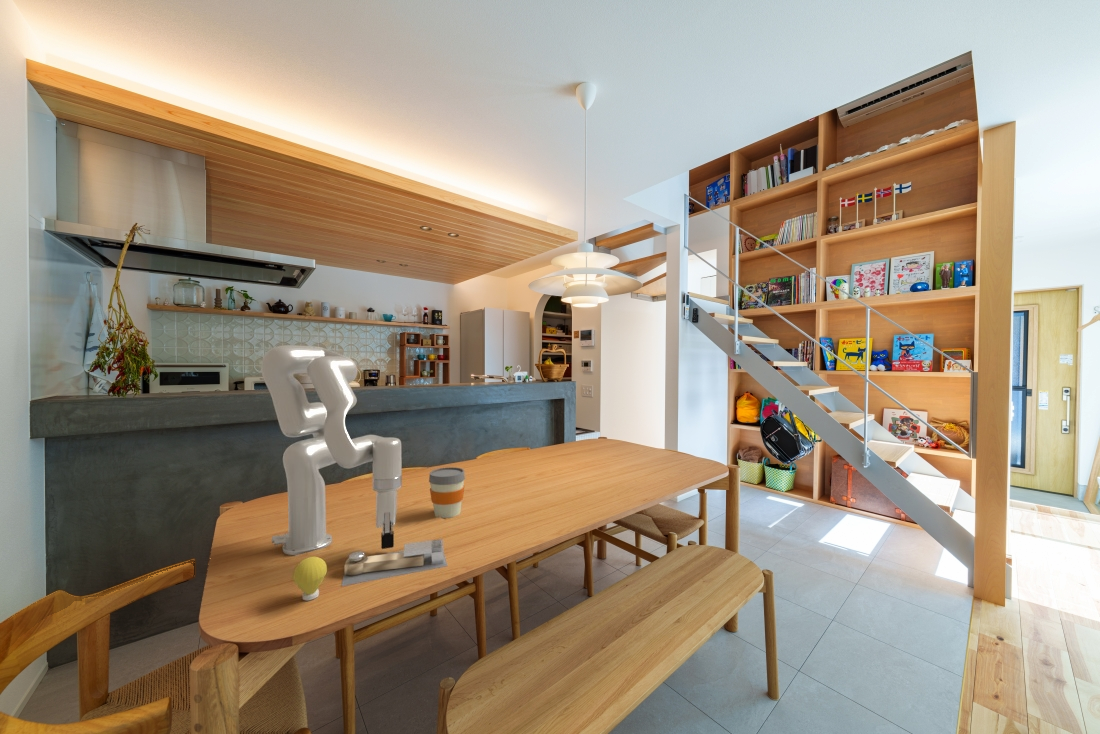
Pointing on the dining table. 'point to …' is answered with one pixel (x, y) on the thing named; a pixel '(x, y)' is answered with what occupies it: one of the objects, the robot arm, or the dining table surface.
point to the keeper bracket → (426, 549)
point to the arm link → (382, 563)
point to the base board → (392, 571)
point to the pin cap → (356, 556)
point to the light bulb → (310, 576)
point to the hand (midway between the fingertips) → (387, 546)
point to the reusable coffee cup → (447, 491)
